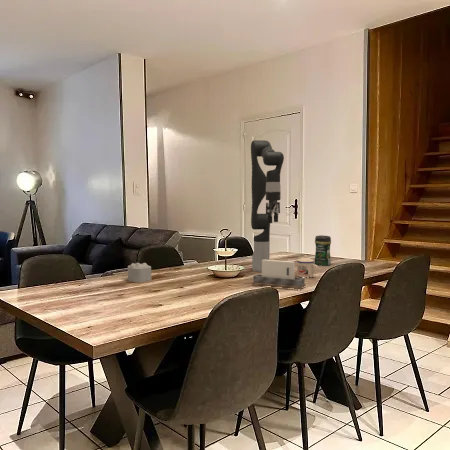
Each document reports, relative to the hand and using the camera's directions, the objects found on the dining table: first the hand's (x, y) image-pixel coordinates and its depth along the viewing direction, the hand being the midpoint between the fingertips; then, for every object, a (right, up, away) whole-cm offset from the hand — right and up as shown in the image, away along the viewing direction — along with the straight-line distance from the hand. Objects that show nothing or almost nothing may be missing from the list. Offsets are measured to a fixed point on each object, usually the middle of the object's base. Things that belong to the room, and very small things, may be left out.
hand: (273, 222), depth 231 cm
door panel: (+1, -30, -13) cm, 32 cm away
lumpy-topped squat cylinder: (-70, -30, +5) cm, 77 cm away
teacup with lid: (+20, -30, +10) cm, 37 cm away
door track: (+1, -31, -13) cm, 34 cm away
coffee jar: (+36, -27, +50) cm, 67 cm away
